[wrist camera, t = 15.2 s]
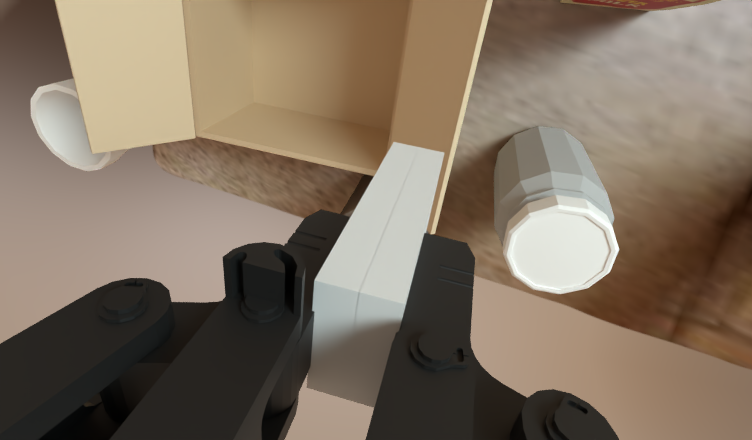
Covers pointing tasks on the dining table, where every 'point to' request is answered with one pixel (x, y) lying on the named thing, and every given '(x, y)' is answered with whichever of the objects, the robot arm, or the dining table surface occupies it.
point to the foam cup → (66, 127)
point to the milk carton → (641, 3)
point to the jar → (552, 212)
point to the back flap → (129, 71)
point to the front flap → (439, 80)
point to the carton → (299, 76)
